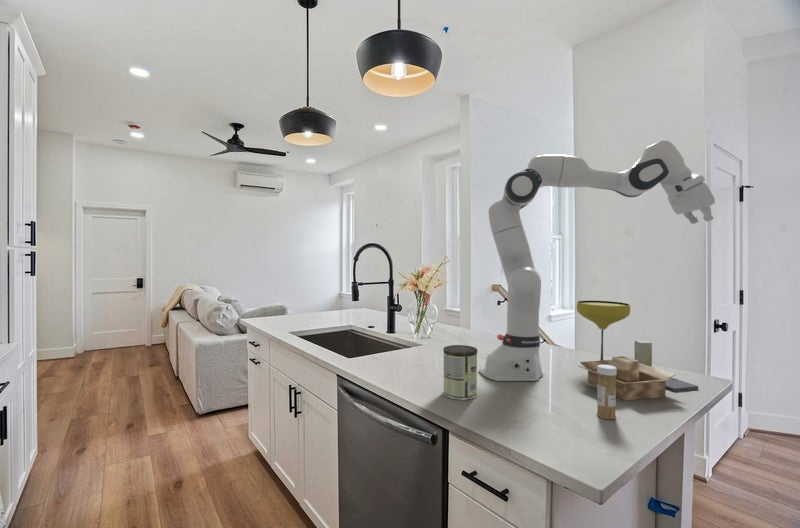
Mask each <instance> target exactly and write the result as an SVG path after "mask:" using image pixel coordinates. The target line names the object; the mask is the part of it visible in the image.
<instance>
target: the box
mask: <svg viewBox="0 0 800 528" xmlns="http://www.w3.org/2000/svg"><path fill="white" fill-rule="evenodd" d="M634 360H637V361H639V363H641V364H644V365H647V366H650V367H653V365H652V364H653V343H652V342H650V341H648V340H639V339H635V340H634Z"/></svg>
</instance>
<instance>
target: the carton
mask: <svg viewBox="0 0 800 528" xmlns="http://www.w3.org/2000/svg"><path fill="white" fill-rule="evenodd" d="M579 364H581V365H582V366H580V365H578V367H579V368H581V369H584V370H587V385H588V384H589V385H588V386H590V385H591V387H593V388H595V387H596V388H595V389H597V384H598V372H597V366H598V365H611V366H612V359H605V360H604V359H603V360H602V361H600V360H589V361H580V363H579ZM675 376H676V374H675V373H672V372H669V371H666V370H663V369H660V368H657V367H653V366H652V367H650V366H647V365H644V364H641V363H639V382H630V383H624V382H621V381H619V380H616V398H618V399H620V398H621V399H620V400H622V399H623V401H625V400H626V401H633V400H634V401H635V400H642V399H653V398H662V397H666V391H667V389H666V381H670V380H677V379H678V378H675V379H669V378H671V377H672V378H674V377H675Z"/></svg>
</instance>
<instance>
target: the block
mask: <svg viewBox="0 0 800 528" xmlns="http://www.w3.org/2000/svg"><path fill="white" fill-rule="evenodd" d="M611 360H612V366H614V367H616V368H617V375H616V380H619V381H621V382H624V383H630V382H639V361H637V360H635V358H634V359H633V358H631V357H628V356H624V355H623V356H622V355H621V356H613V357H612V359H611Z"/></svg>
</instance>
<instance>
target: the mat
mask: <svg viewBox="0 0 800 528" xmlns="http://www.w3.org/2000/svg"><path fill="white" fill-rule="evenodd" d="M669 379H677V380H670V381H666V390H668V391H671V392H673V391H676V392H681V391H682V392H683V391H684V390H686V391H692V390H693V389H695V390H699V385H697V384H694V383H690V382H687V381H684V380H681V379H679V378H674V377H671V378H669ZM684 392H685V391H684Z"/></svg>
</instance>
